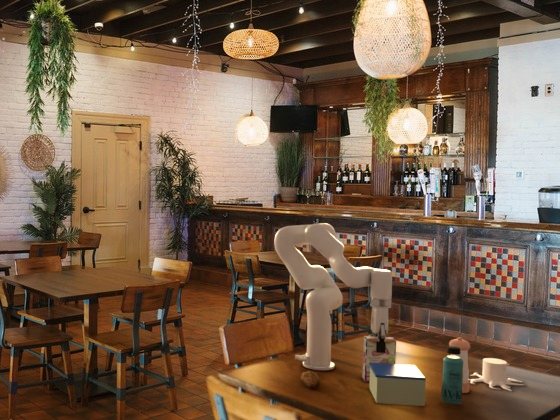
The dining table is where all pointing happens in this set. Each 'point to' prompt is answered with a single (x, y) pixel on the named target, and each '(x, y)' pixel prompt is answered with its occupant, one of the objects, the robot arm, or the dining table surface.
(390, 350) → the candy bar box
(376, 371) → the container lid
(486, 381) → the tree stump
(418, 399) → the container
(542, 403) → the dining table surface
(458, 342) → the pepper shaker
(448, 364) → the beverage bottle
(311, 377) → the croissant
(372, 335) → the house plant
